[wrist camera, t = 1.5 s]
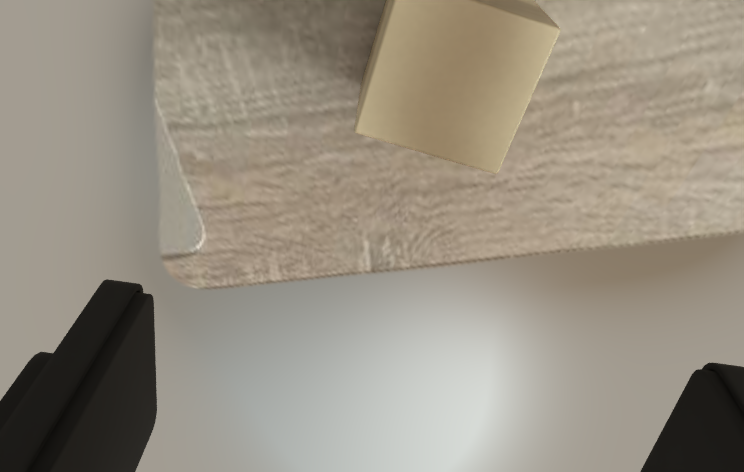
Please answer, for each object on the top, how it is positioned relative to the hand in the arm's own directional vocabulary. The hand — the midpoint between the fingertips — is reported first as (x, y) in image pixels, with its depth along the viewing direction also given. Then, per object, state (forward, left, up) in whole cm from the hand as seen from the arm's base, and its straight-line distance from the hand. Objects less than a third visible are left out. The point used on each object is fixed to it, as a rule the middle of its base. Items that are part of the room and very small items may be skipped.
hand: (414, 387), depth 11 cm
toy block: (+1, +2, -19) cm, 19 cm away
